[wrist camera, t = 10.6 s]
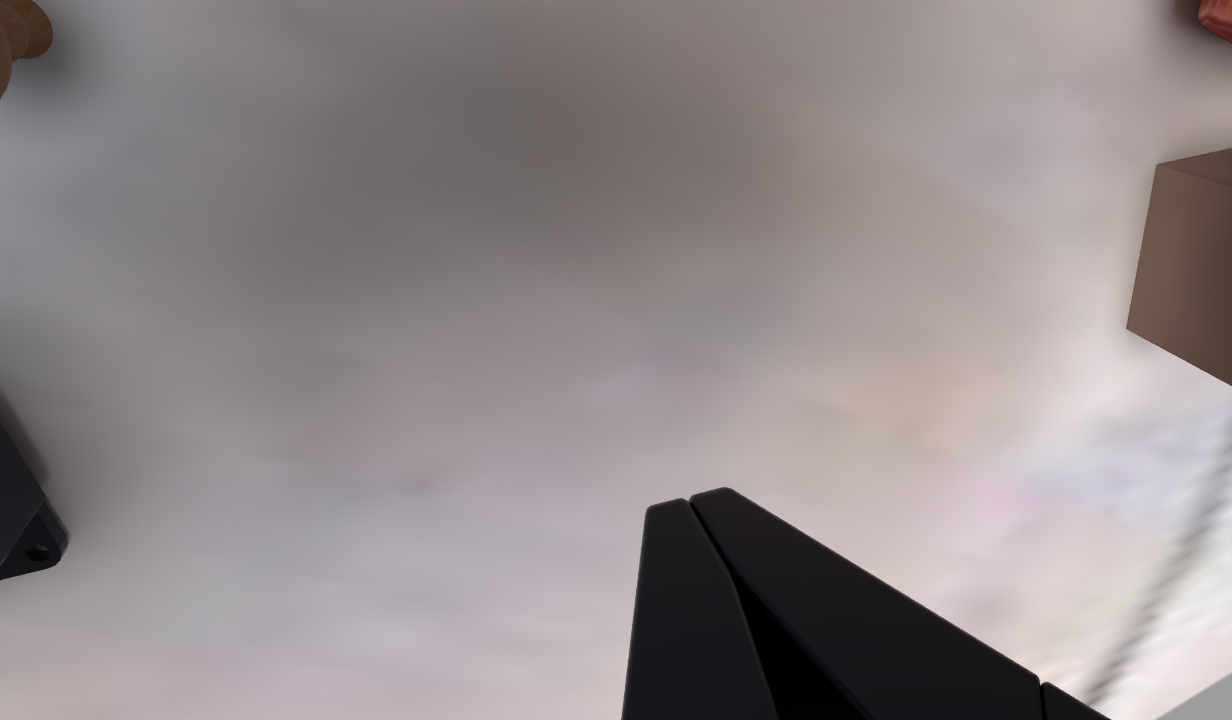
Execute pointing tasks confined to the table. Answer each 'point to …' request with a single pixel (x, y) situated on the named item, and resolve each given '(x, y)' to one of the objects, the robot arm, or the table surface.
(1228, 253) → the walnut block
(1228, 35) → the snack package
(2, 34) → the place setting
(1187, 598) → the table surface
